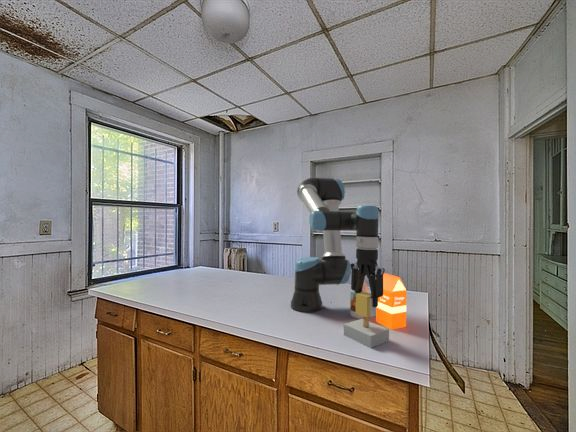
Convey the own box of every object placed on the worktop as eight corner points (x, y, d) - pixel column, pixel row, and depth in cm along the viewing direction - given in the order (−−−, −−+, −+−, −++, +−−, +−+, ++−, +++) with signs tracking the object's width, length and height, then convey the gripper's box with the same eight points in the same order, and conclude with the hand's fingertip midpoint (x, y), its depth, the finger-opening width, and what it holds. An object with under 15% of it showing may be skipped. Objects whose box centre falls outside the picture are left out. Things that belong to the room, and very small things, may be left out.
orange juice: (391, 329, 107) (392, 278, 107) (375, 321, 115) (376, 273, 115) (406, 326, 110) (407, 276, 110) (390, 318, 118) (390, 272, 118)
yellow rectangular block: (355, 313, 99) (355, 293, 99) (364, 310, 102) (365, 291, 102) (366, 317, 95) (367, 297, 95) (375, 314, 98) (376, 295, 98)
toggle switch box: (343, 335, 101) (344, 311, 101) (361, 328, 107) (362, 307, 107) (370, 348, 91) (370, 322, 91) (388, 340, 97) (389, 316, 97)
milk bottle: (347, 313, 124) (348, 268, 124) (364, 312, 125) (365, 268, 125) (353, 319, 116) (354, 272, 116) (371, 319, 117) (371, 272, 117)
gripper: (341, 246, 104) (340, 308, 104) (381, 251, 89) (380, 323, 89) (354, 245, 109) (354, 304, 108) (395, 250, 94) (394, 318, 94)
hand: (366, 313), depth 99 cm, fingers closed on yellow rectangular block, 5 cm apart
